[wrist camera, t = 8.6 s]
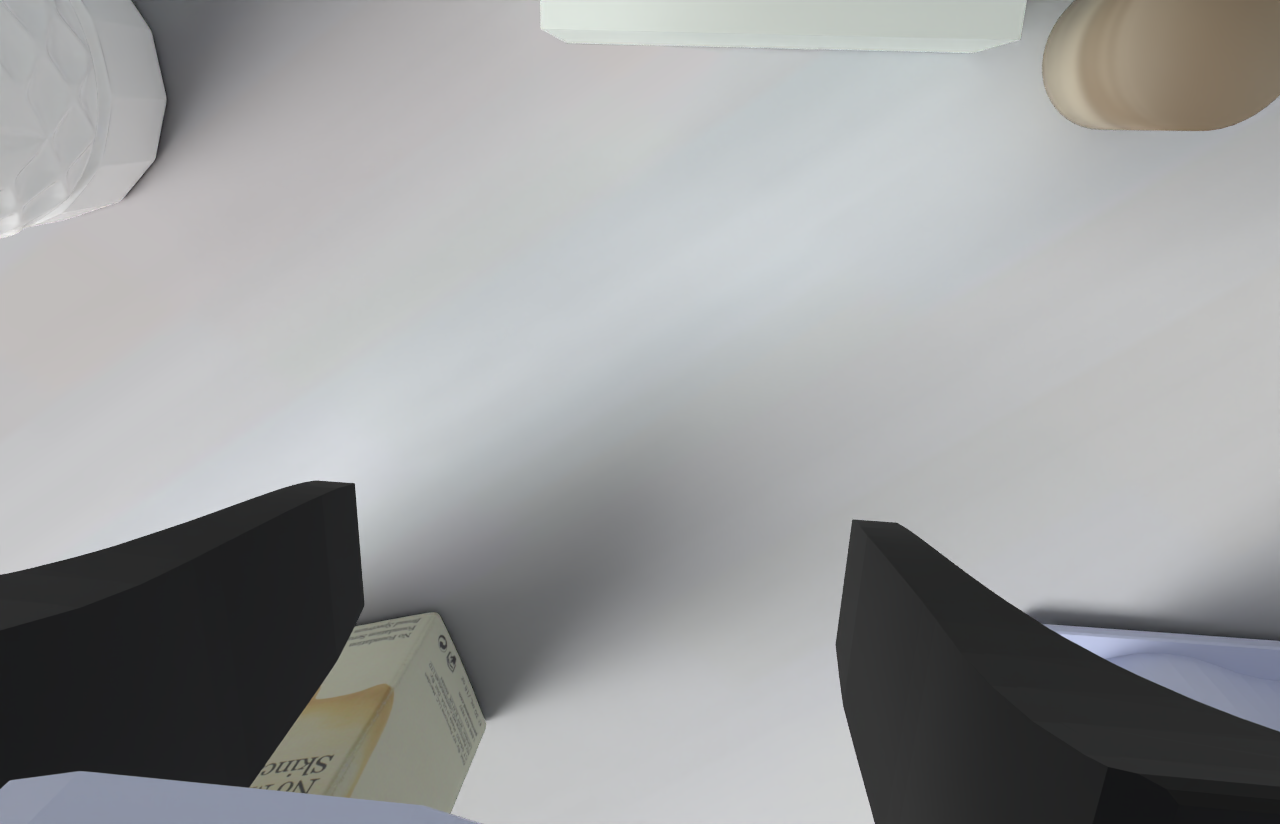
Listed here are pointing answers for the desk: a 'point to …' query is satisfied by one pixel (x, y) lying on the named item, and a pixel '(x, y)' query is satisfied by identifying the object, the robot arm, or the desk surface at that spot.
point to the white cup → (74, 107)
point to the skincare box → (385, 721)
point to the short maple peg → (1163, 63)
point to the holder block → (790, 23)
